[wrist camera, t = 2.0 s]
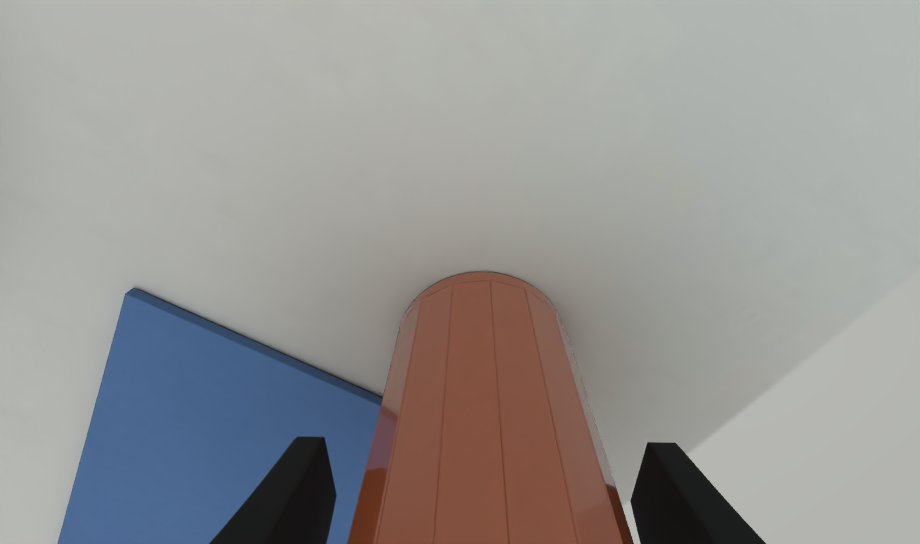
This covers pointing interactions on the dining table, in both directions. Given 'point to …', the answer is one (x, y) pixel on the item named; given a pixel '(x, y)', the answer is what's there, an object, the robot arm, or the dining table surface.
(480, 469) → the cup
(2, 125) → the dining table surface
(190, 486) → the towel
